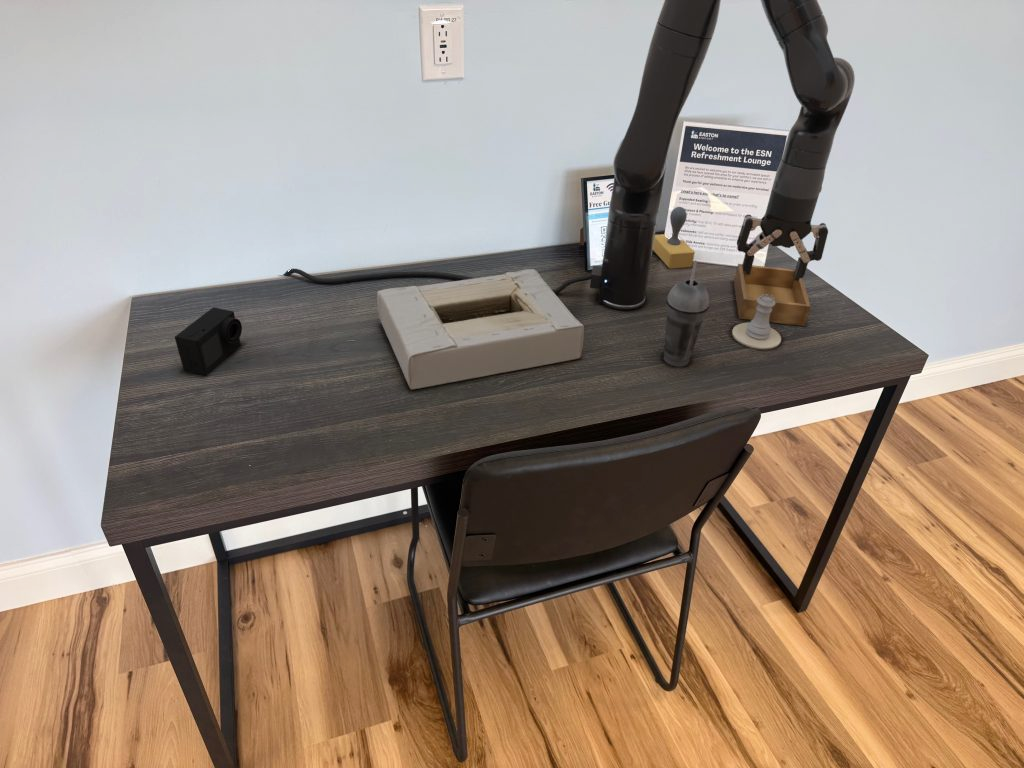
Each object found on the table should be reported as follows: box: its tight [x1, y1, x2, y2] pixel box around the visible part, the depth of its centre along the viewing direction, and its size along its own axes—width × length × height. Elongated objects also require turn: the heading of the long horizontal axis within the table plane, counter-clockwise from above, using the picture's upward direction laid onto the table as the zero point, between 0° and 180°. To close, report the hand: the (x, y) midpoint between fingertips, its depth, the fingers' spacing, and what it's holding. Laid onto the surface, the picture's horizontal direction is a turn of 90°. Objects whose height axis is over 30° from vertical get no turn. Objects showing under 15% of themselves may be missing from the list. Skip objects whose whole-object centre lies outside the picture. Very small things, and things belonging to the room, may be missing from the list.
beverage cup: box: [663, 259, 710, 367], centre depth 126 cm, size 7×7×20 cm
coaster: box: [731, 322, 782, 350], centre depth 139 cm, size 9×9×1 cm
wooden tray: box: [733, 263, 812, 327], centre depth 148 cm, size 13×16×4 cm
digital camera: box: [174, 307, 243, 376], centre depth 125 cm, size 10×5×7 cm, turn 163°
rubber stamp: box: [652, 206, 696, 270], centre depth 162 cm, size 10×6×12 cm, turn 13°
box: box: [376, 268, 585, 390], centre depth 132 cm, size 23×8×32 cm
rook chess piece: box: [746, 294, 775, 340], centre depth 136 cm, size 4×4×8 cm
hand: (771, 275), depth 131 cm, fingers open, 8 cm apart
